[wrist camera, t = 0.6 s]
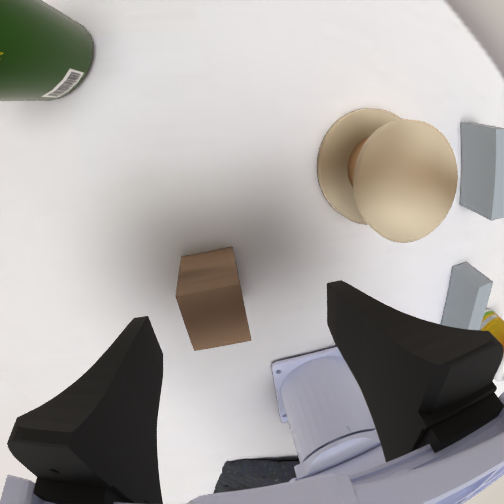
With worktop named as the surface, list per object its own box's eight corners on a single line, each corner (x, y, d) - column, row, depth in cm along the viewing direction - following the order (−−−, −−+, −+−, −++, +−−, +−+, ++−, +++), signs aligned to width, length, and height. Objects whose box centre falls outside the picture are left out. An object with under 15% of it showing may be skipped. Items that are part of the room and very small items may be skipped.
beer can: (113, 51, 15) (7, -10, 4) (58, 116, 16) (-78, 138, 5) (65, 10, 13) (-44, -50, 2) (15, 73, 14) (-115, 71, 3)
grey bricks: (454, 319, 28) (475, 341, 24) (440, 325, 28) (461, 348, 24) (475, 123, 19) (510, 129, 16) (460, 122, 19) (495, 128, 16)
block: (242, 296, 23) (251, 340, 18) (195, 305, 23) (194, 350, 18) (232, 246, 21) (240, 284, 17) (181, 256, 21) (175, 296, 16)
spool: (416, 212, 22) (458, 237, 17) (322, 229, 21) (352, 263, 17) (413, 108, 19) (461, 112, 14) (310, 112, 18) (344, 112, 13)
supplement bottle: (455, 339, 29) (502, 395, 21) (482, 302, 28) (536, 352, 19) (472, 348, 31) (514, 397, 22) (497, 314, 30) (544, 360, 21)
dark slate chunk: (334, 446, 36) (344, 474, 32) (290, 501, 44) (295, 521, 40) (221, 454, 33) (225, 486, 28) (207, 506, 41) (209, 528, 37)
